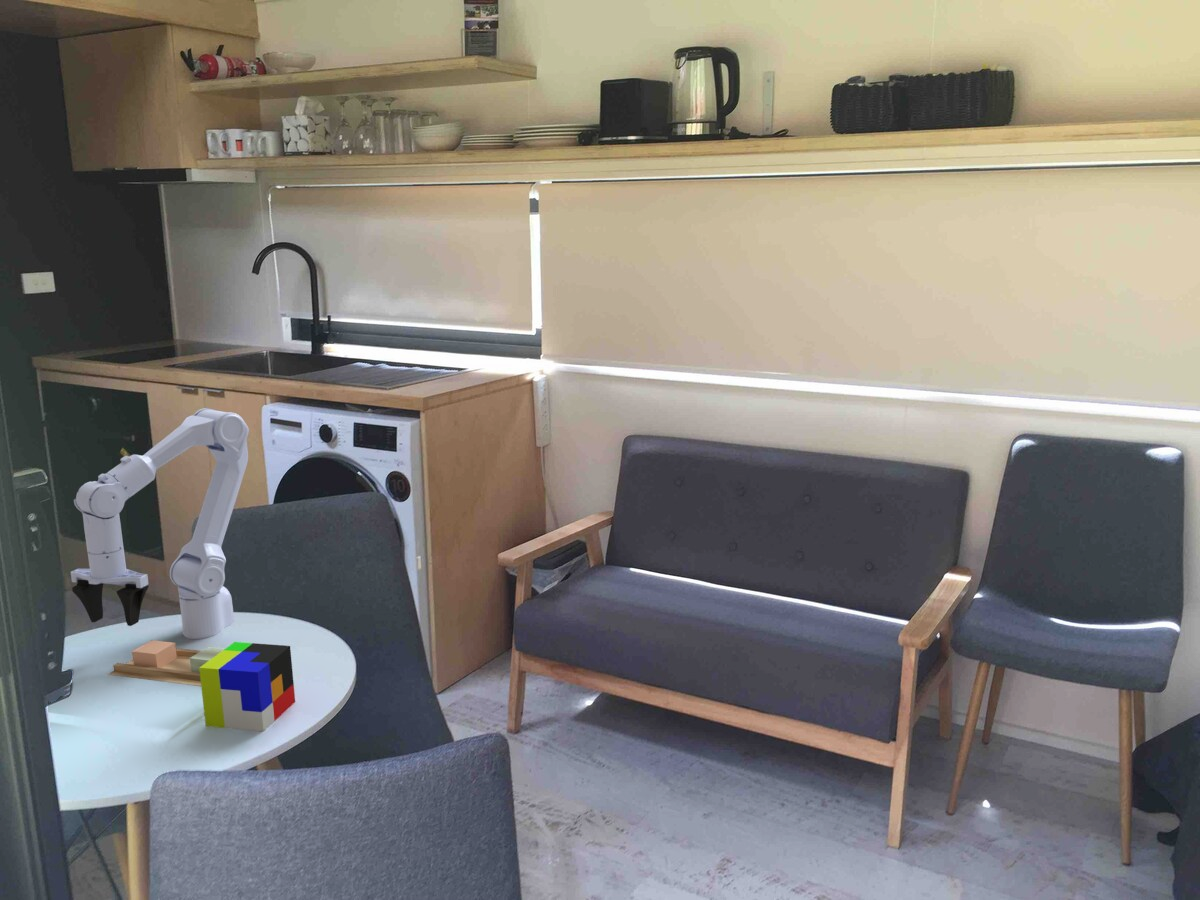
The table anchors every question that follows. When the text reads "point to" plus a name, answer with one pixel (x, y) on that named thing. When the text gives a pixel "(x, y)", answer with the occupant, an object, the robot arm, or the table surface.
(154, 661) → the peach pink cube
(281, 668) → the puzzle toy
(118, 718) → the table surface
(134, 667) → the oak channel board
